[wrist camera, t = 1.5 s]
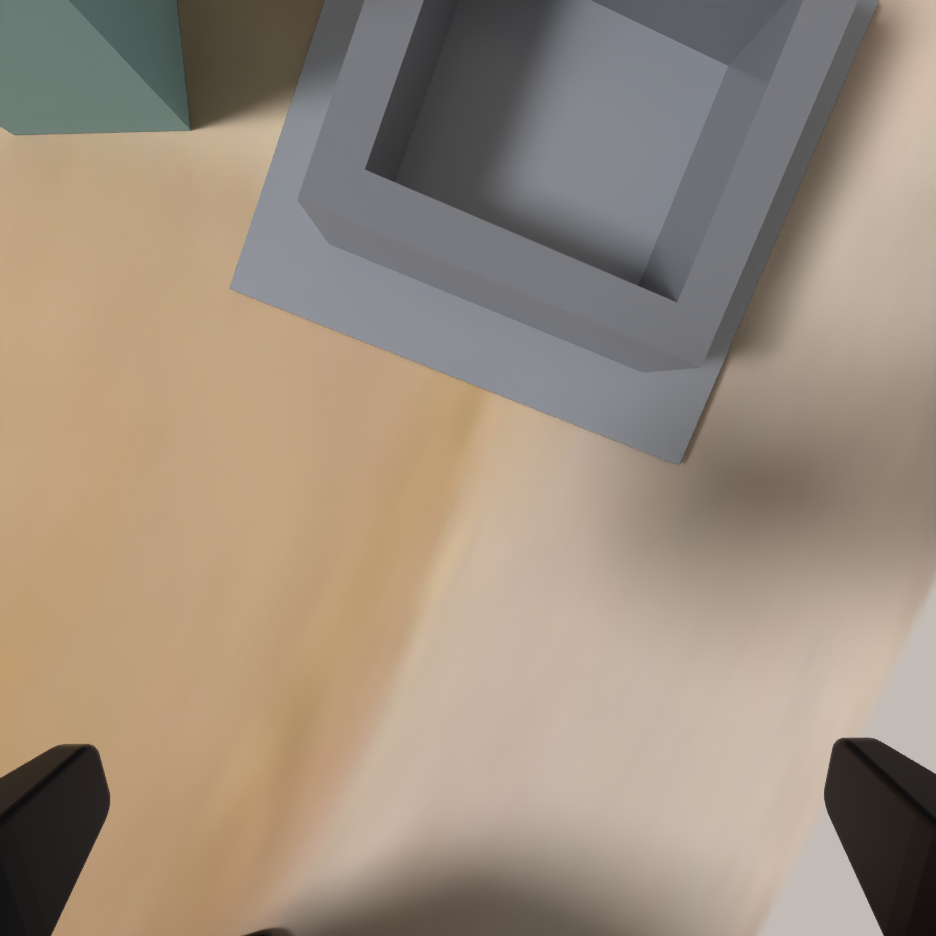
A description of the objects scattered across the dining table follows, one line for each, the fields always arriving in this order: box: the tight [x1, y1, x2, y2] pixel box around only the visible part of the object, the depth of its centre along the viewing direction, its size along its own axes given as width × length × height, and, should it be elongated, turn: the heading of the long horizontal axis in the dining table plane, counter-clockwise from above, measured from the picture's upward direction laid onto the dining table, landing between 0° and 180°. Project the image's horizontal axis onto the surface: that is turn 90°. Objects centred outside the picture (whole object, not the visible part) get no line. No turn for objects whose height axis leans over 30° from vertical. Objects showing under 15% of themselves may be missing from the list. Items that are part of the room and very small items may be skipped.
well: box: [230, 0, 879, 465], centre depth 15 cm, size 15×15×4 cm
